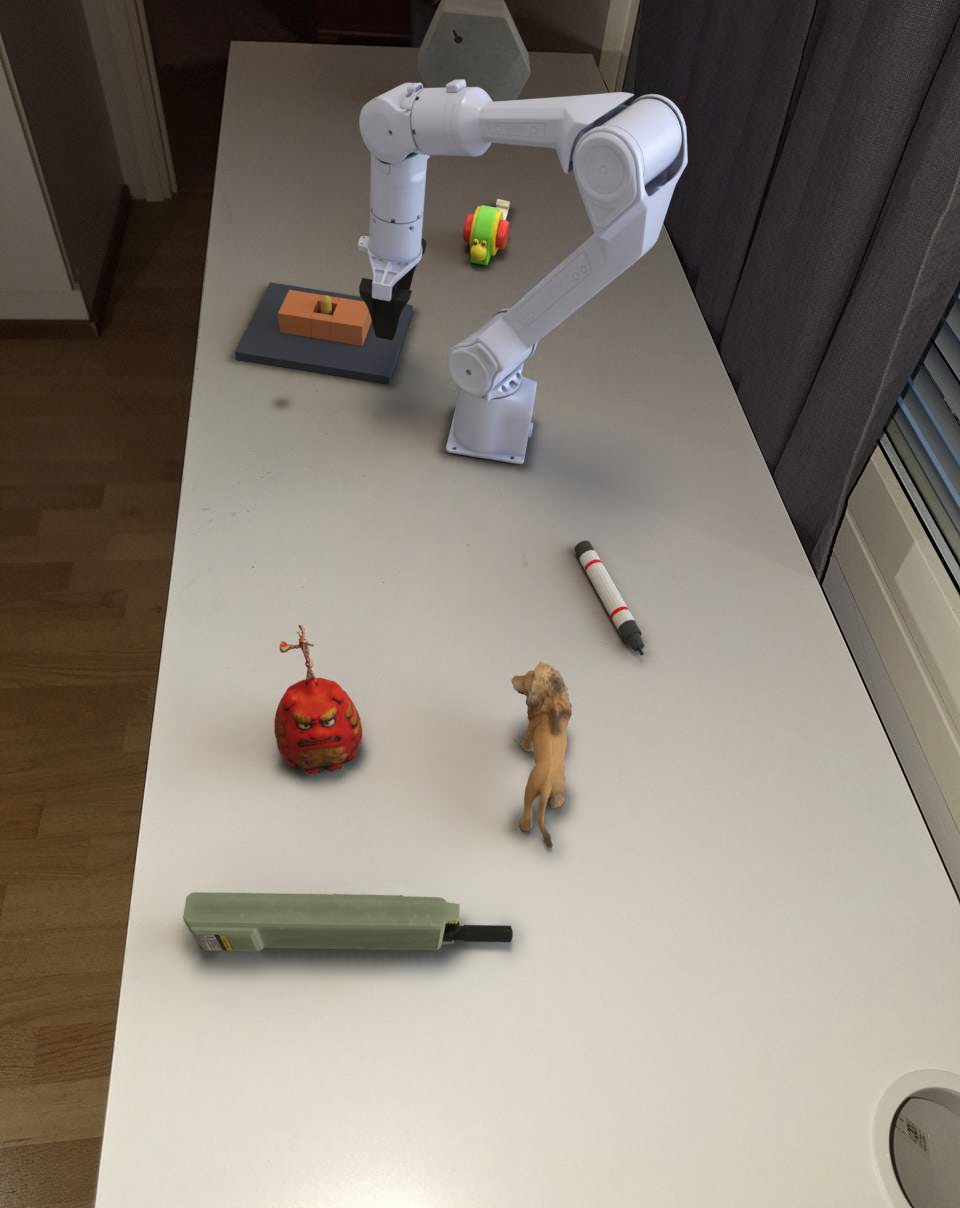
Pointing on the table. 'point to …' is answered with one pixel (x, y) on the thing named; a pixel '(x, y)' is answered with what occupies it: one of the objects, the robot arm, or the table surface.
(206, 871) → the table surface
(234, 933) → the handheld radio
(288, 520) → the table surface
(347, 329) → the orange brown rectangular block
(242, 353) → the dark gray base plate
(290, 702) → the red clay folk toy
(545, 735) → the lion figurine
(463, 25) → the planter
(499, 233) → the toy measuring tape
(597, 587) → the marker
